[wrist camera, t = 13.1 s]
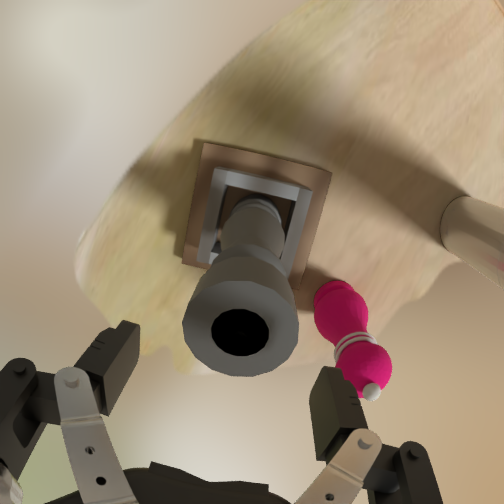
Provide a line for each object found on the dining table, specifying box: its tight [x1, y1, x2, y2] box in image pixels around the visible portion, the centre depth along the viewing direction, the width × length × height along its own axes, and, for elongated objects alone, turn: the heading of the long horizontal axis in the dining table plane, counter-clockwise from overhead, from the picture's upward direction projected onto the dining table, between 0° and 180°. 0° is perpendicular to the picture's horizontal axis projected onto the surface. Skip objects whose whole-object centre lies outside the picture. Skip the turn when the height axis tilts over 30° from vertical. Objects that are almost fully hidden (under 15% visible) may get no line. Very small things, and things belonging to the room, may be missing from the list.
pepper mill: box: [314, 281, 392, 401], centre depth 33 cm, size 7×7×20 cm
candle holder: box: [182, 194, 299, 377], centre depth 26 cm, size 6×6×25 cm
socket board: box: [182, 143, 332, 290], centre depth 37 cm, size 16×16×6 cm
